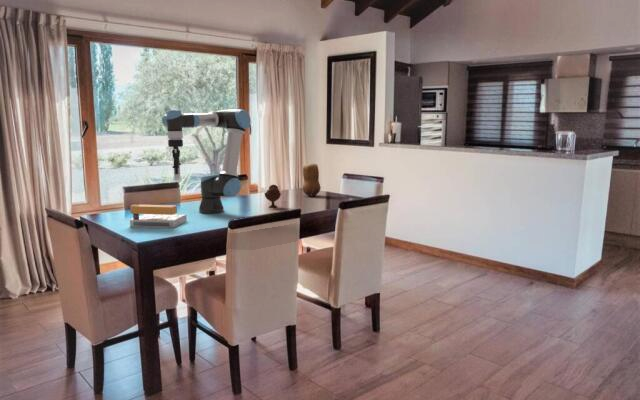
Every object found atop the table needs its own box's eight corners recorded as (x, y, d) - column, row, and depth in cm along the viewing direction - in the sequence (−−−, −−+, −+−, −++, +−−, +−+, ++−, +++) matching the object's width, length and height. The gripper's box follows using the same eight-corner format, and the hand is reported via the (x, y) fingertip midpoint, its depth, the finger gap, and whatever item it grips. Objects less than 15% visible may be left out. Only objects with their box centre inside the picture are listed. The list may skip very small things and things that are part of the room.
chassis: (146, 220, 277) (145, 208, 276) (186, 221, 274) (186, 209, 272) (129, 227, 259) (129, 214, 258) (172, 228, 256) (172, 215, 254)
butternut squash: (306, 194, 377) (306, 162, 373) (322, 195, 373) (322, 163, 369) (300, 197, 364) (299, 163, 360) (316, 198, 360) (316, 164, 356)
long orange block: (134, 211, 264) (133, 204, 263) (177, 212, 261) (176, 205, 260) (128, 213, 258) (128, 206, 257) (172, 214, 255) (172, 207, 254)
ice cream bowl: (262, 206, 323) (262, 184, 320) (278, 205, 326) (278, 183, 324) (266, 209, 313) (266, 186, 310) (283, 208, 317) (283, 185, 314)
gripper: (169, 138, 269) (171, 176, 273) (166, 140, 245) (169, 181, 249) (183, 138, 271) (185, 175, 275) (182, 140, 247) (184, 181, 251)
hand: (177, 178), depth 262 cm, fingers open, 13 cm apart
